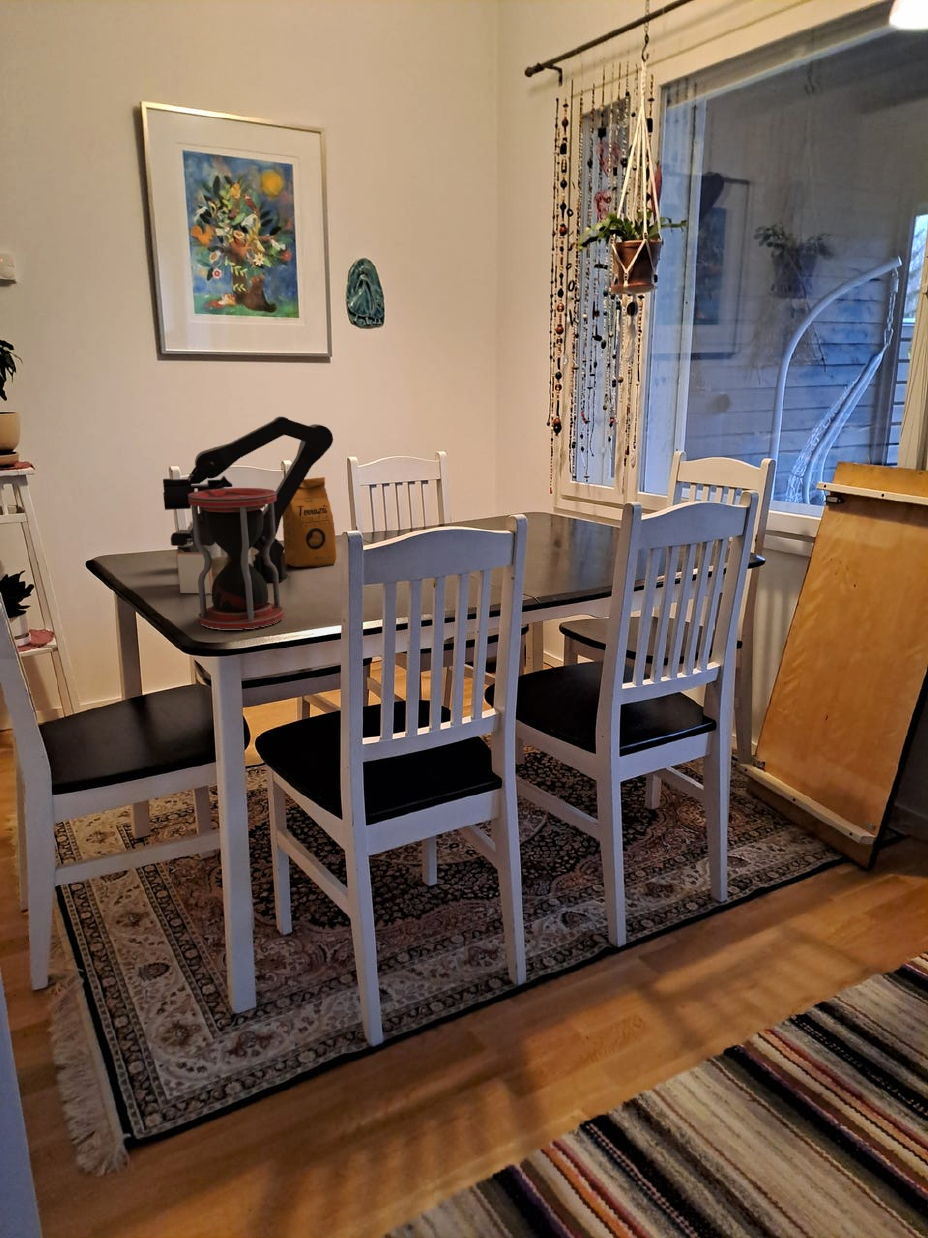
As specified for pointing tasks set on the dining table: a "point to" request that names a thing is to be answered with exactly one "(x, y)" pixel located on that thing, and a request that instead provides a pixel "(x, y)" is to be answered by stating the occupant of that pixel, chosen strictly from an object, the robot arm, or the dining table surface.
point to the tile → (192, 572)
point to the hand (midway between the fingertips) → (218, 575)
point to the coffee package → (309, 527)
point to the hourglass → (236, 557)
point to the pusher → (217, 565)
